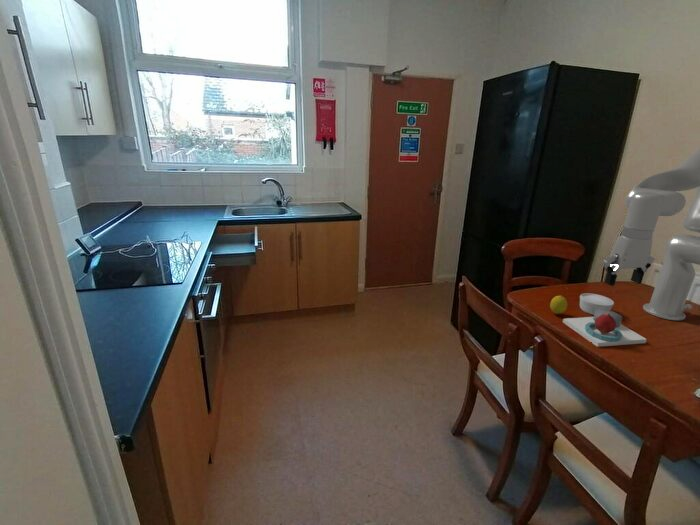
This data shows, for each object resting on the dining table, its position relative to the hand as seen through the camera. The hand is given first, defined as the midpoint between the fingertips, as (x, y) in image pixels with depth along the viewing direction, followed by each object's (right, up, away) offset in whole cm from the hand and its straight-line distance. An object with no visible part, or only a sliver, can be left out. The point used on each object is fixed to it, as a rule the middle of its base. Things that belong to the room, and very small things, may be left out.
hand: (622, 283), depth 112 cm
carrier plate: (0, -18, +9) cm, 20 cm away
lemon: (-9, -14, +21) cm, 26 cm away
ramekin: (+8, -13, +24) cm, 28 cm away
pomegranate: (-3, -18, +5) cm, 19 cm away
